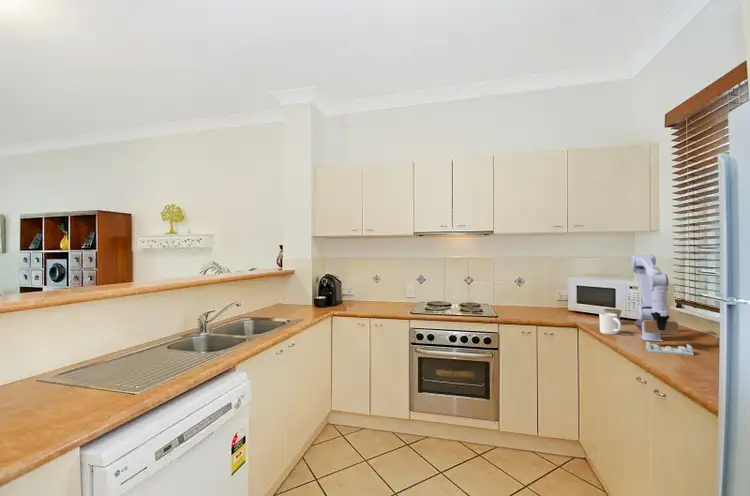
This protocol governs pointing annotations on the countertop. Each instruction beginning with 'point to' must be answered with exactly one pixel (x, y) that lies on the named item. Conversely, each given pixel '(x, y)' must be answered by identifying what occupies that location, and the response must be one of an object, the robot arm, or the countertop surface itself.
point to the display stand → (670, 349)
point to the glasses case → (652, 327)
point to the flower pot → (614, 312)
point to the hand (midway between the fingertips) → (660, 329)
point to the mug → (609, 323)
